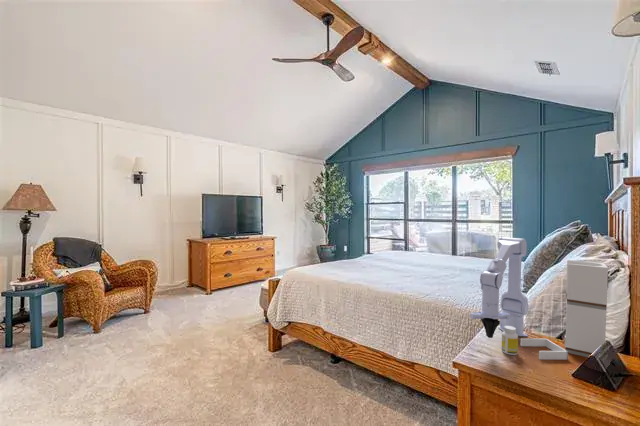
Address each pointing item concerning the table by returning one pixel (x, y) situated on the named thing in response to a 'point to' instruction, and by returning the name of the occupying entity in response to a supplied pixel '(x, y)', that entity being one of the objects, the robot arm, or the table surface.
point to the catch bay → (556, 350)
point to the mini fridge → (585, 306)
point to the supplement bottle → (510, 340)
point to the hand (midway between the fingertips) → (489, 336)
